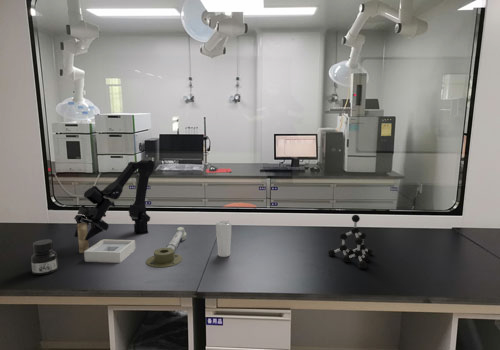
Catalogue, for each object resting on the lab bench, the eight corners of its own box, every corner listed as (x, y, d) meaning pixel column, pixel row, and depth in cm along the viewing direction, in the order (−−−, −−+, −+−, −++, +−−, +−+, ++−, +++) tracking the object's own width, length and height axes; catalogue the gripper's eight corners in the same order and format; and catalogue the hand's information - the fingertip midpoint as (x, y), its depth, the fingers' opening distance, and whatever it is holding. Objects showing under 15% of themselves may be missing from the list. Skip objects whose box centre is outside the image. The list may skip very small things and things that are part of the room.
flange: (189, 251, 149) (169, 242, 159) (157, 260, 138) (139, 251, 149) (189, 261, 150) (169, 252, 160) (158, 272, 139) (139, 261, 149)
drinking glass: (233, 253, 157) (233, 221, 155) (228, 258, 151) (227, 225, 149) (220, 251, 159) (219, 219, 157) (213, 257, 153) (213, 223, 151)
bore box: (103, 248, 163) (102, 239, 163) (135, 249, 162) (134, 240, 161) (84, 261, 148) (84, 251, 147) (120, 262, 147) (119, 252, 146)
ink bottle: (29, 277, 133) (26, 247, 131) (33, 268, 141) (30, 240, 139) (58, 273, 137) (55, 243, 135) (60, 265, 145) (57, 237, 143)
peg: (89, 249, 163) (87, 222, 161) (88, 252, 159) (86, 224, 157) (79, 250, 161) (77, 223, 159) (79, 253, 157) (76, 225, 156)
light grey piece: (162, 247, 154) (176, 224, 178) (164, 260, 156) (177, 235, 180) (174, 247, 154) (186, 224, 178) (175, 261, 156) (187, 236, 180)
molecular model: (362, 271, 139) (365, 222, 136) (326, 255, 155) (327, 211, 152) (390, 261, 148) (392, 216, 145) (353, 247, 165) (355, 206, 162)
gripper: (76, 197, 165) (55, 226, 157) (101, 202, 155) (80, 232, 147) (92, 210, 173) (73, 238, 165) (117, 215, 163) (97, 245, 155)
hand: (80, 238), depth 158 cm, fingers open, 8 cm apart
